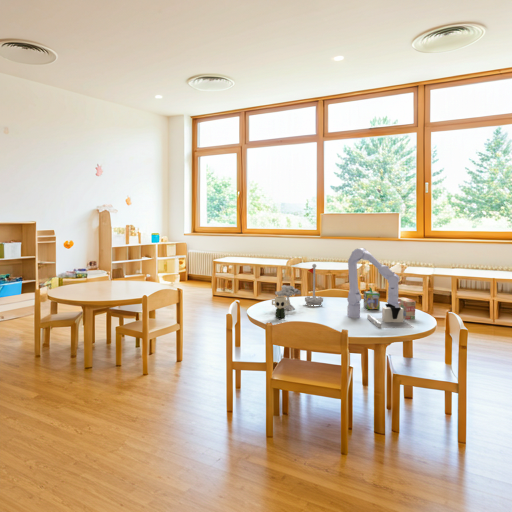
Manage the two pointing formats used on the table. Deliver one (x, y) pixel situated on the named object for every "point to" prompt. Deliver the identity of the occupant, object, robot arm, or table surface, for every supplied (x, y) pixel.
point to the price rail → (374, 321)
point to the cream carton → (388, 315)
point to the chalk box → (371, 299)
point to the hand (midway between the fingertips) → (392, 317)
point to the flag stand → (313, 300)
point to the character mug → (280, 306)
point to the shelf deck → (393, 324)
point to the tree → (288, 294)
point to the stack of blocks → (407, 307)
